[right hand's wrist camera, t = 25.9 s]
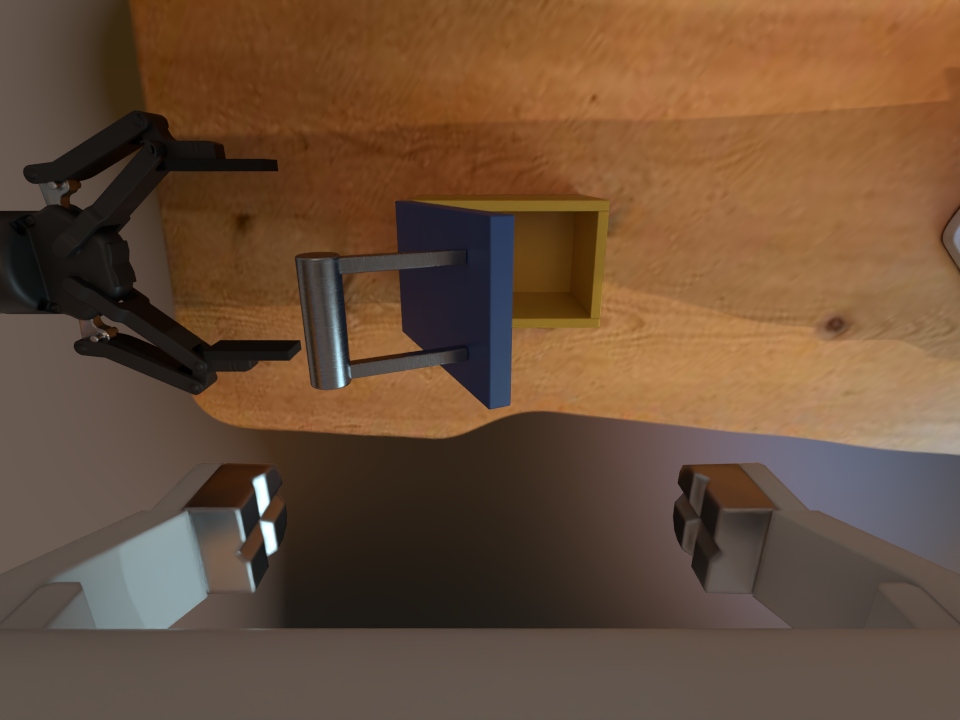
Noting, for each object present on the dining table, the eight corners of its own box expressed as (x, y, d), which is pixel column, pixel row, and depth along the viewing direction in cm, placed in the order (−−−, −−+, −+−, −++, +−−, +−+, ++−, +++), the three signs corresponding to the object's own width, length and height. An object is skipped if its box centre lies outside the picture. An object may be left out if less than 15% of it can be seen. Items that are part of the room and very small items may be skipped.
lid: (515, 214, 22) (297, 222, 18) (511, 405, 25) (324, 443, 21) (412, 200, 34) (270, 203, 31) (418, 329, 37) (290, 345, 34)
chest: (582, 194, 44) (610, 200, 34) (576, 298, 47) (599, 328, 38) (420, 195, 44) (405, 200, 34) (424, 298, 47) (411, 328, 38)
